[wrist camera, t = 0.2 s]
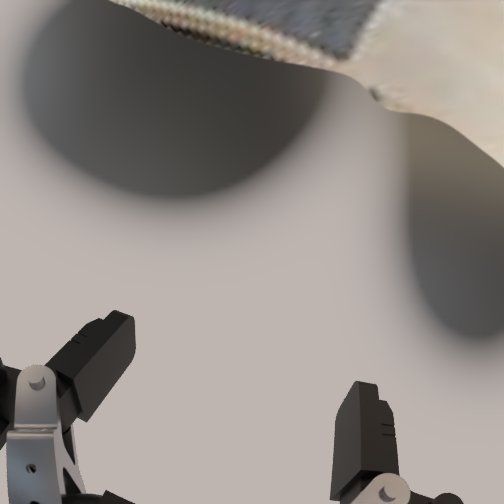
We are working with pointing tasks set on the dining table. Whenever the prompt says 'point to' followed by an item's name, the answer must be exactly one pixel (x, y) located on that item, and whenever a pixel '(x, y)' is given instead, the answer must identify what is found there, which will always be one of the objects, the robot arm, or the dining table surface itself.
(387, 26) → the dining table surface
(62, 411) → the robot arm
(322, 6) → the dining table surface
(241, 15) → the dining table surface
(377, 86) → the dining table surface
